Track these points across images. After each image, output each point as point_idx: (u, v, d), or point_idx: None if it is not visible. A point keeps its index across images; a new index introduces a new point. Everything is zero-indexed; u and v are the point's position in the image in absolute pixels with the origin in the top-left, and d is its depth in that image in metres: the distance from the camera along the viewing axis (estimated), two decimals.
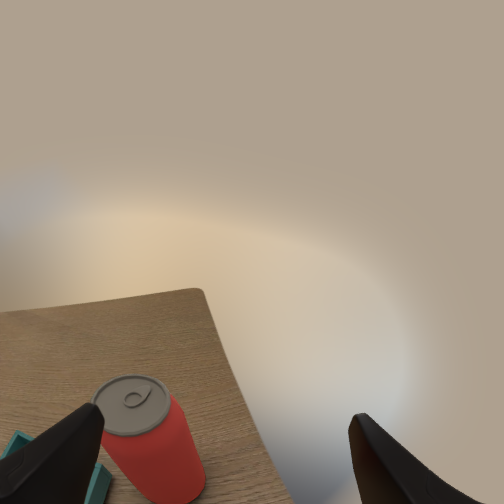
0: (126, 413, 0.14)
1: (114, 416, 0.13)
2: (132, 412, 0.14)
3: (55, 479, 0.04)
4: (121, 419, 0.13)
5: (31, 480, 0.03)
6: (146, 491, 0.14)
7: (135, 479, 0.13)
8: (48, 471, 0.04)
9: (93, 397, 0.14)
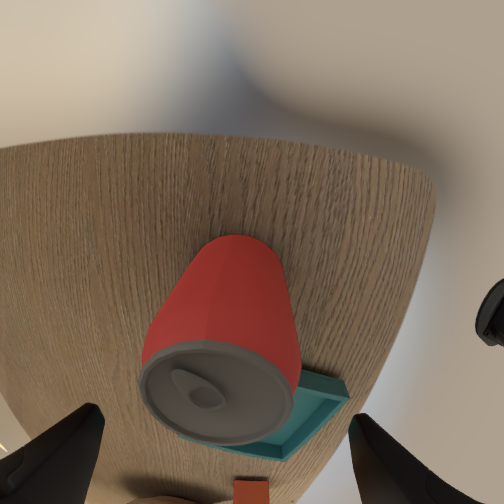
0: (236, 406, 0.09)
1: (241, 420, 0.09)
2: (236, 399, 0.09)
3: (55, 479, 0.04)
4: (250, 413, 0.09)
5: (31, 480, 0.03)
6: None
7: None
8: (48, 471, 0.04)
9: (200, 441, 0.09)
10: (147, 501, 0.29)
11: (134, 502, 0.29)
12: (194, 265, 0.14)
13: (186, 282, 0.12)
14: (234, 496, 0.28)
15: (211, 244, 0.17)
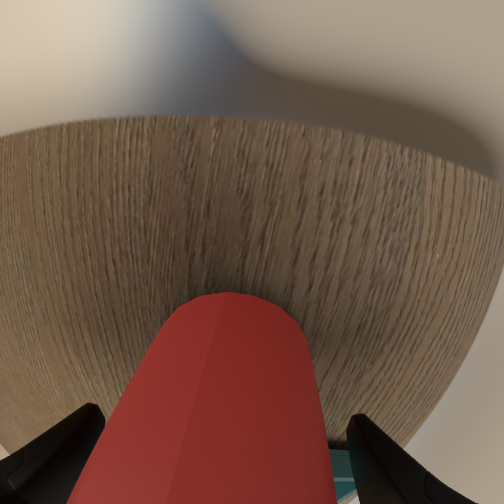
0: None
1: None
2: None
3: (56, 479, 0.04)
4: None
5: (32, 480, 0.03)
6: None
7: None
8: (49, 471, 0.04)
9: None
10: None
11: None
12: (143, 379, 0.06)
13: (115, 446, 0.04)
14: None
15: (185, 315, 0.09)
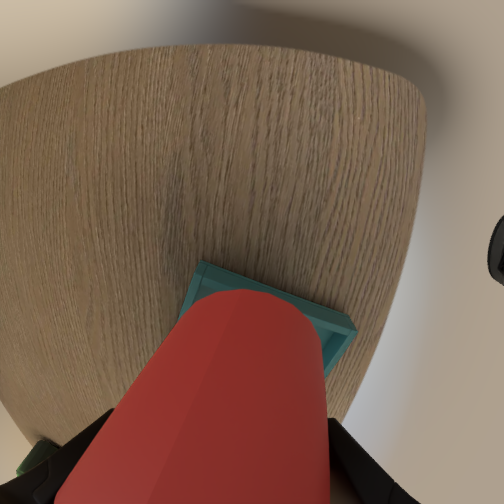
0: None
1: None
2: None
3: None
4: None
5: None
6: None
7: None
8: None
9: None
10: None
11: None
12: (154, 367, 0.07)
13: (119, 427, 0.05)
14: None
15: (201, 309, 0.10)
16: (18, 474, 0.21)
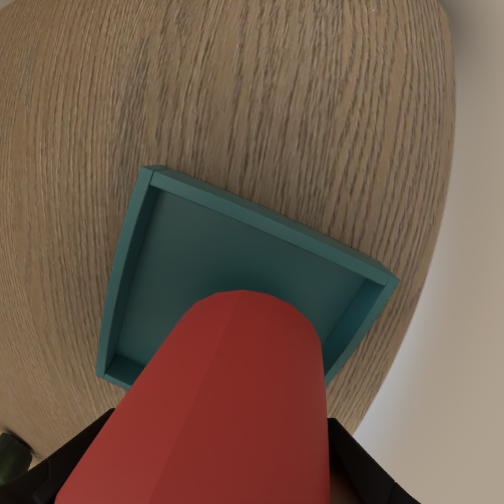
0: None
1: None
2: None
3: None
4: None
5: None
6: None
7: None
8: None
9: None
10: None
11: None
12: (154, 368, 0.07)
13: (119, 428, 0.05)
14: None
15: (201, 310, 0.10)
16: None
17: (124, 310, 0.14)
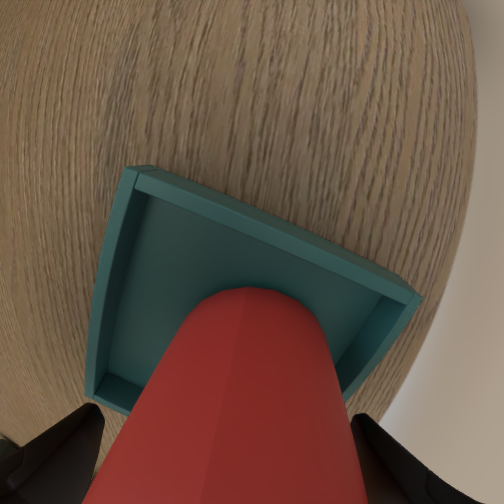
0: None
1: None
2: None
3: (55, 479, 0.04)
4: None
5: (31, 480, 0.03)
6: None
7: None
8: (48, 471, 0.04)
9: None
10: None
11: None
12: (171, 364, 0.07)
13: (146, 427, 0.05)
14: None
15: (209, 307, 0.10)
16: None
17: (113, 328, 0.12)
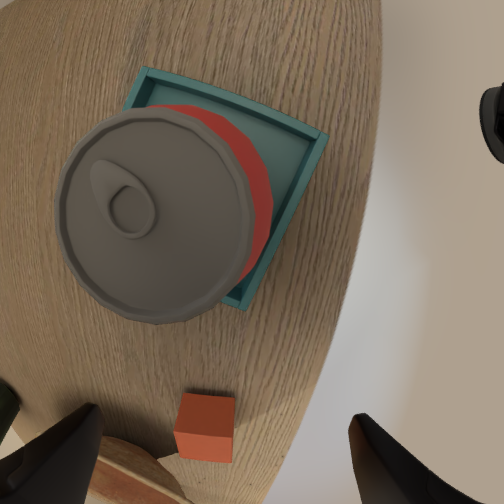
0: (171, 230, 0.07)
1: (179, 263, 0.07)
2: (171, 215, 0.06)
3: (55, 479, 0.04)
4: (191, 246, 0.07)
5: (31, 480, 0.03)
6: None
7: None
8: (48, 471, 0.04)
9: (124, 313, 0.07)
10: None
11: None
12: None
13: None
14: (179, 415, 0.21)
15: None
16: None
17: None
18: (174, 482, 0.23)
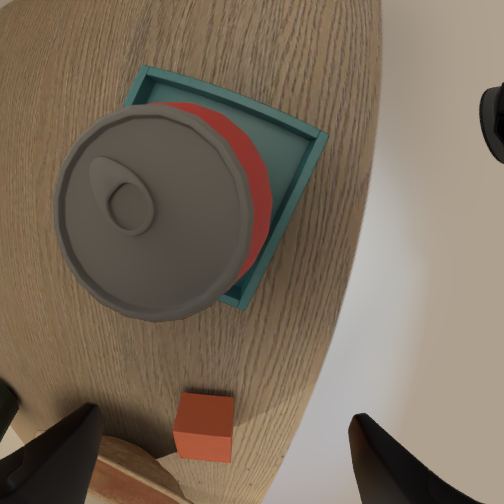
0: (170, 227, 0.07)
1: (178, 261, 0.07)
2: (170, 212, 0.06)
3: (55, 479, 0.04)
4: (190, 243, 0.07)
5: (31, 480, 0.03)
6: None
7: None
8: (48, 471, 0.04)
9: (122, 311, 0.07)
10: None
11: None
12: None
13: None
14: (178, 414, 0.21)
15: None
16: None
17: None
18: (173, 482, 0.23)
